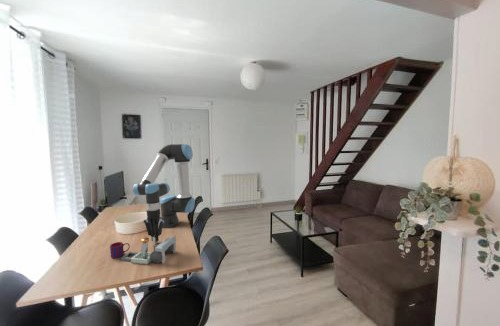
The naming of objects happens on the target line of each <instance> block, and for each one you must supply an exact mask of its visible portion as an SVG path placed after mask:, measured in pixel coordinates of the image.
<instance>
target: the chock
mask: <svg viewBox="0 0 500 326" xmlns="http://www.w3.org/2000/svg"><path fill="white" fill-rule="evenodd" d="M163 241H164V240H163ZM163 241H162V240H160V241H159V240H158V243H156V244H155V245H154V247H153V251H154V250H155V247H157V246H158V245H159V244H161V243H162V242H163Z"/></svg>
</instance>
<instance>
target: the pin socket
mask: <svg viewBox="0 0 500 326" xmlns="http://www.w3.org/2000/svg"><path fill="white" fill-rule="evenodd" d="M138 253H139V252H135V251H129V252H126V254H124V255H123V256H121V257H120V260H121V261H125V262H131V258H133V257H134V256H135V255H137V254H138ZM130 256H132V257H130Z"/></svg>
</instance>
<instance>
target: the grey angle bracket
mask: <svg viewBox="0 0 500 326" xmlns="http://www.w3.org/2000/svg"><path fill="white" fill-rule="evenodd" d="M176 242H177V235H176V234H175V235H173V236H172V237H168V236H167V238H165V239H164V240H163V242H162V243H161V244H159V245H158V246H157V247H155V250H154V249H153V251H152V252H150V253H151V255H150V258H151V260H152V261H151V262H152V263H153V264H159V263H161V264H165V263H166V253H167V254H170V253H171V252H173V254H176V253H177V246H176V245H177V244H176Z"/></svg>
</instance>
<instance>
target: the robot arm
mask: <svg viewBox="0 0 500 326" xmlns="http://www.w3.org/2000/svg"><path fill="white" fill-rule="evenodd" d="M193 155H194V153H193V149H192V147H191V145H189V144H188V143H187V144H185V143H181V144H180V143H179V144H177V143H176V144H172V143H171V144H167V145H165V146H164V147H161V149H159V151H158V152H157V154H156V155H155V159H154V161H153V162H152V164H151V165H150V166H149V168H148V170H147V172H146V173H145V174H144V176H143V178H142V179H141V181H140V182H138V183H134V184H133V186H132V193H133V194H134V195H135V196H145V202H146V204H145V205H146V208H145V209H146V217H147V218H146V219H144V220H143V223H144V225H145V228H146V232H147V236H150V237H151V238H150V239H151V242H152V247H153V248H154V245H155V244H156V243H158V242H159V236H161V235H162V232H163V228H164V229H166V228H167V229H169V228H175V227H176V226H179V224H180V219H179V217H178V215H177V213H182V214H183V213H184V214H189V213H192V212H193V211H194V209H195V205H196V200H195V197H193V194H191V192H190V191H191V190H190V172H189V171H190V170H189V169H190V168H189V163H190V162H191V160H192V159H193ZM171 160H174V163H175V164H176V175H177V192H178V193H177V195H175V194H174V195H173V194H172V195H170V194H169V195H167V194H168V193H169V192H170V190H171V186H170V185H169V184H168V183H167V182H161V183H156V182H155V181H156V180H157V178H158V177H159V175H160V173H161V172H162V170H163V168H164V166H165V165H166V164H168V162H169V161H171ZM160 197H162V198H160Z"/></svg>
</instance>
